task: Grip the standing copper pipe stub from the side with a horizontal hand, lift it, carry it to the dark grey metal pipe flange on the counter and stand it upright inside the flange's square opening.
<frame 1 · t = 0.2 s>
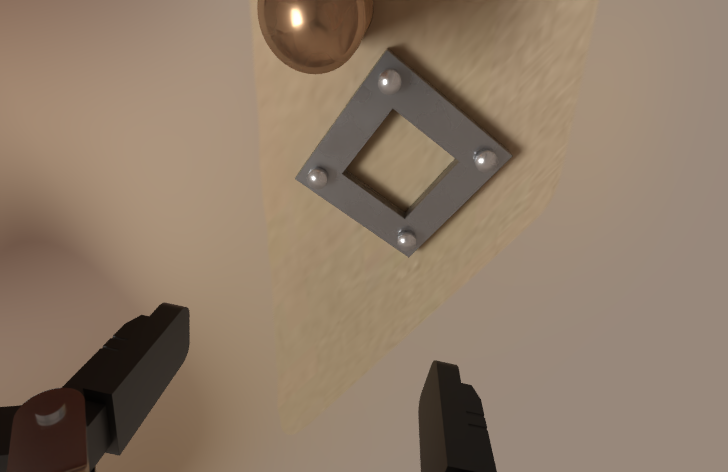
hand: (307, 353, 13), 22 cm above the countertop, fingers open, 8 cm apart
pipe stub: (340, 8, 27), on the countertop
flange: (399, 162, 32), on the countertop
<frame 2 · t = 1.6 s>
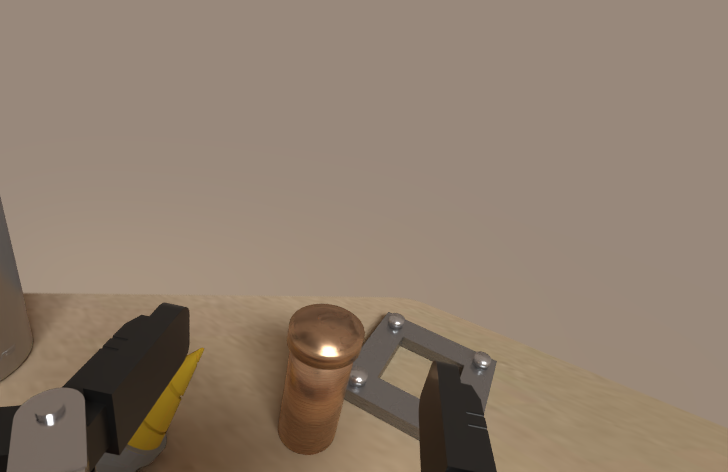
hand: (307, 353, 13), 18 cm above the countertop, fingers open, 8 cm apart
pipe stub: (307, 427, 31), on the countertop
flange: (419, 380, 37), on the countertop
drill bit: (143, 439, 28), on the countertop
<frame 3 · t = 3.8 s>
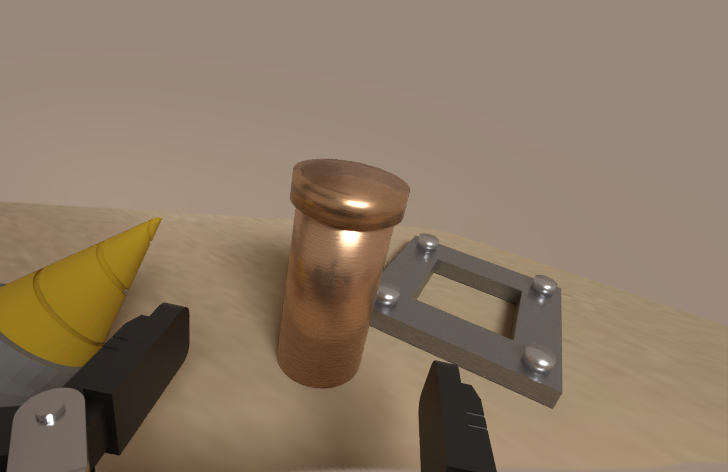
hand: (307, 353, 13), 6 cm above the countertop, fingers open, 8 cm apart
pipe stub: (319, 355, 21), on the countertop
flange: (465, 308, 28), on the countertop
drill bit: (70, 365, 18), on the countertop
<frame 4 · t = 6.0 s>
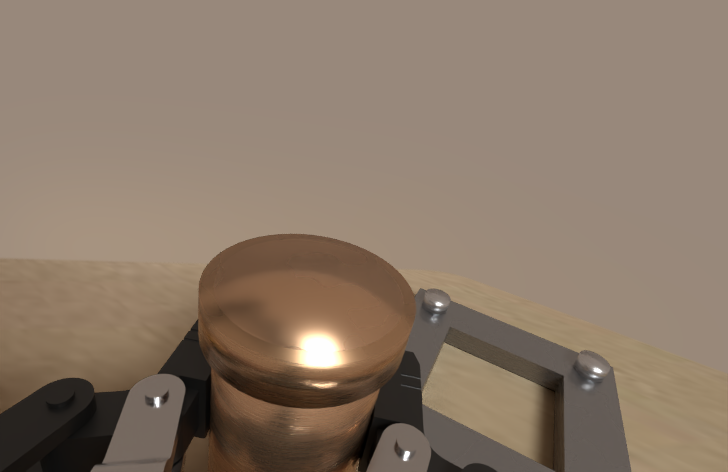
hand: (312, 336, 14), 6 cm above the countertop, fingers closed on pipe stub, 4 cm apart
flange: (488, 404, 21), on the countertop
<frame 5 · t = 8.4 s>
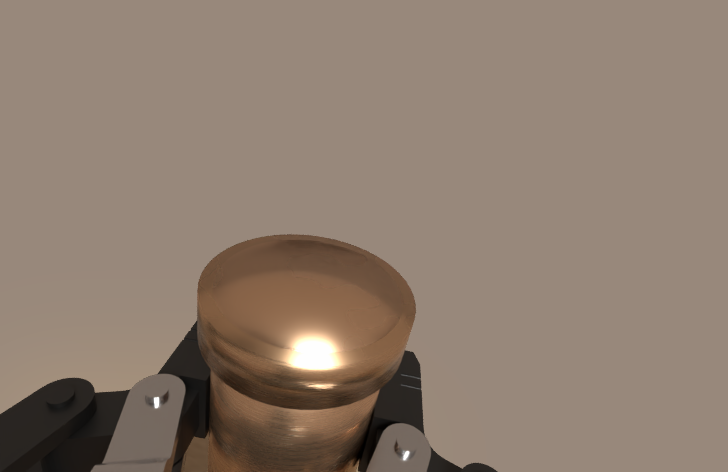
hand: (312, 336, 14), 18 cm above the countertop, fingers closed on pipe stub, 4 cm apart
when the fingers open (7 cm above the countertop, at t = 11.2 s): pipe stub drops 1 cm, resting in flange.
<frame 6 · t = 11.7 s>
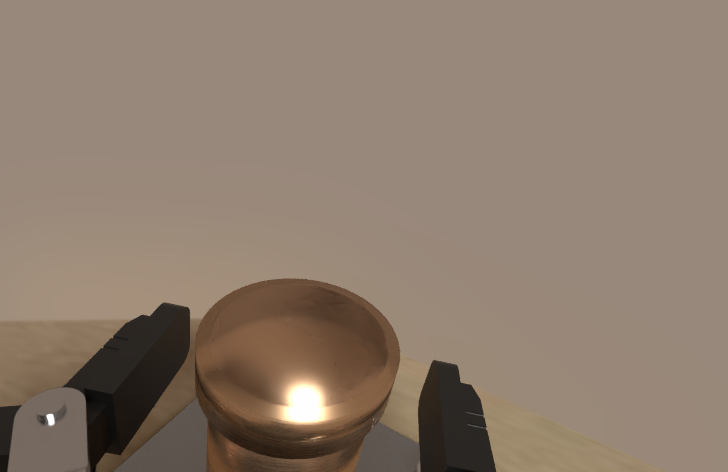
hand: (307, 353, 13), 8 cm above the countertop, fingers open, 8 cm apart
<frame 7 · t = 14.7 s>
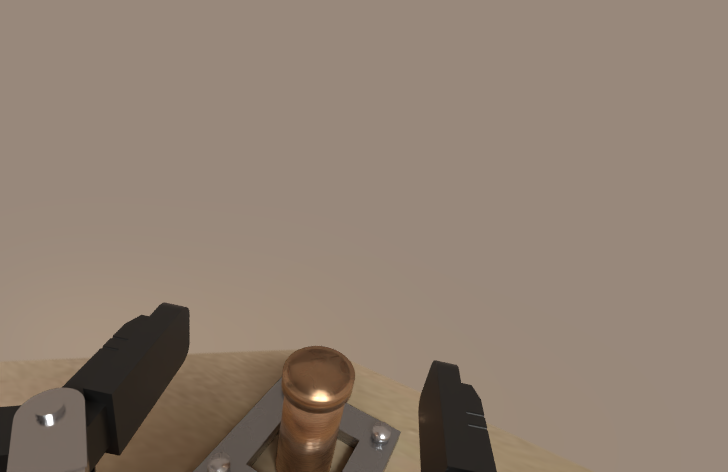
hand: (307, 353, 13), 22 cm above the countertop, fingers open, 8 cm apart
pipe stub: (303, 462, 32), resting in flange
flange: (304, 461, 32), on the countertop
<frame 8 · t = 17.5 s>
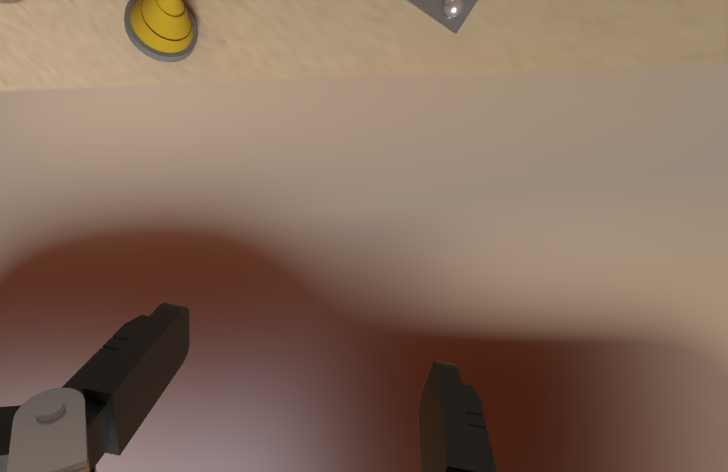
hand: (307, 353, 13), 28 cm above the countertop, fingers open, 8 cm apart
drill bit: (180, 16, 35), on the countertop
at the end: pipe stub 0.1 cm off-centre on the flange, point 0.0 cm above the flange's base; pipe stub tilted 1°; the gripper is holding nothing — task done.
